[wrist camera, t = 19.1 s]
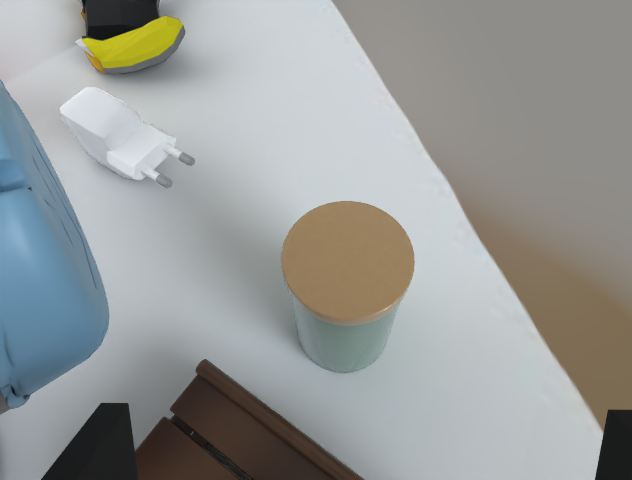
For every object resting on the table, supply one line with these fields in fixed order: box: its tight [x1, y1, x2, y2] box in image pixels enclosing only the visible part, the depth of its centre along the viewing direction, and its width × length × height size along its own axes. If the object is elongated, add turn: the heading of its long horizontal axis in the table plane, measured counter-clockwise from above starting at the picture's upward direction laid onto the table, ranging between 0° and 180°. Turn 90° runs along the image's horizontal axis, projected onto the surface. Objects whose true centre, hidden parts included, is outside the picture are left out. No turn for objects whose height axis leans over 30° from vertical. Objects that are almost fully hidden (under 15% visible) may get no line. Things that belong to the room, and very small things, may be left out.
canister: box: [281, 201, 415, 373], centre depth 28 cm, size 7×7×11 cm
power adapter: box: [60, 87, 195, 188], centre depth 38 cm, size 11×5×6 cm, turn 56°
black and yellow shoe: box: [76, 0, 185, 74], centre depth 46 cm, size 15×6×10 cm
